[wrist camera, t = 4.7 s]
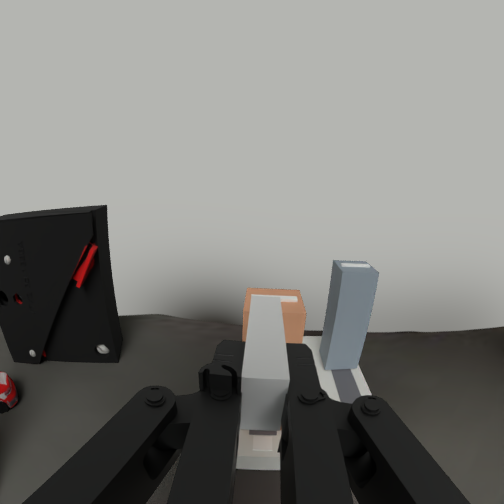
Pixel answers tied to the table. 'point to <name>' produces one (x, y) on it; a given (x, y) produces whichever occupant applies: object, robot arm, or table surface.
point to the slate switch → (347, 313)
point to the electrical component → (58, 286)
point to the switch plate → (267, 442)
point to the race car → (7, 393)
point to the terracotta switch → (290, 311)
